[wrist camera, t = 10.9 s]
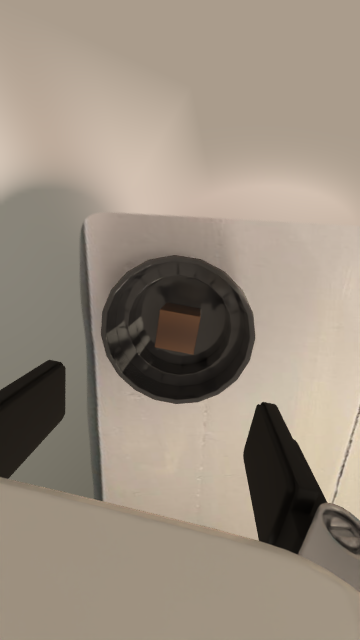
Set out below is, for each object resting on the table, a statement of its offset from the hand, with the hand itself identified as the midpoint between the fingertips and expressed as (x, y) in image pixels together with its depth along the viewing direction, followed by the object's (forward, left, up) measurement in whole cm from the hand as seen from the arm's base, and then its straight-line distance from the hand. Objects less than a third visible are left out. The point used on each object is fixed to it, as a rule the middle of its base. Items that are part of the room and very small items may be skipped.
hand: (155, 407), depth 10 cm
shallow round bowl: (0, 0, -17) cm, 17 cm away
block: (0, 0, -17) cm, 17 cm away
